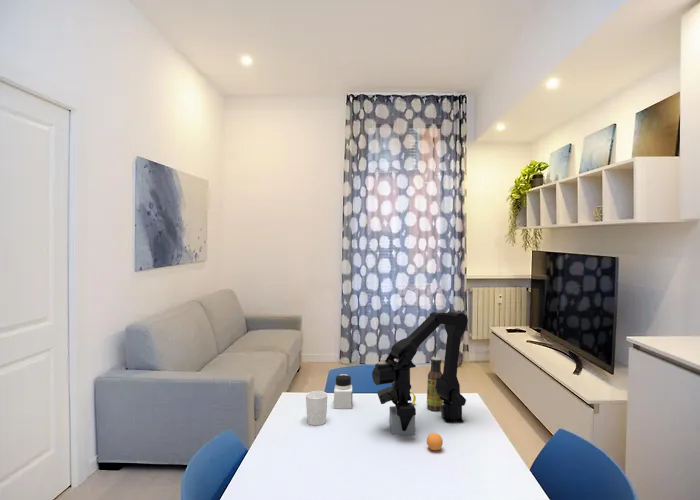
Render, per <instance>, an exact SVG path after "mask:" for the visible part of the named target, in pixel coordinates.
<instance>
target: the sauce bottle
mask: <svg viewBox="0 0 700 500" xmlns="http://www.w3.org/2000/svg"><path fill="white" fill-rule="evenodd" d="M441 365H442V358H441V357H439V356H436V357H435V356H434V357H431V358H430V370H429V372H428V374H427V379H426V380H427V382H426V384H427V386H426V408H427V409H428V410H430V411H433V412H439V411H442V405H443V400H441V399H440V396H439V395H438V394H437V392H436V388H435V386H436V379H437V377H438V378H440V377H441V376H442V374H443V372H442V371H441V370H442V368H441V367H442V366H441Z"/></svg>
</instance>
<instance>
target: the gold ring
mask: <svg viewBox="0 0 700 500" xmlns="http://www.w3.org/2000/svg"><path fill="white" fill-rule="evenodd" d="M410 394H412V396H413V400H412V401H411V403H412V404H413V405H415V404H416V403H415V402H416V400H417V399H416V395H415V393H414V392H412V389H410Z"/></svg>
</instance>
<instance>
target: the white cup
mask: <svg viewBox="0 0 700 500" xmlns="http://www.w3.org/2000/svg"><path fill="white" fill-rule="evenodd" d="M305 404H306V405H305V407H306V408H305V409H306V416H307V417H306V419H307V423H308V425H309V426H314V427H316V426H323V425H325V424H326V422H327V413H328V412H327V411H328V393H327V392H325V391H323V390H312V391H310V392H307V393H305Z"/></svg>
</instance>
